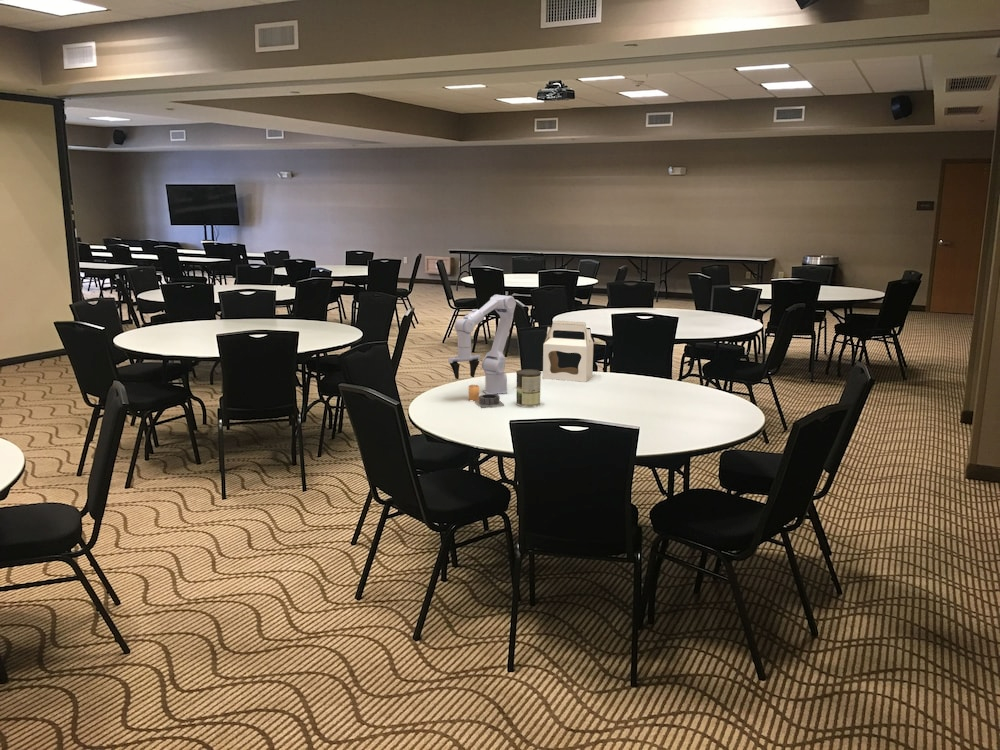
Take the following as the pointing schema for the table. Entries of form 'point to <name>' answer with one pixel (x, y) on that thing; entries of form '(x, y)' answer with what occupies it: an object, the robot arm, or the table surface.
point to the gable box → (568, 346)
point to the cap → (473, 392)
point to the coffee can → (528, 387)
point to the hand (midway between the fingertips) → (464, 377)
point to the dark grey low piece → (489, 401)
